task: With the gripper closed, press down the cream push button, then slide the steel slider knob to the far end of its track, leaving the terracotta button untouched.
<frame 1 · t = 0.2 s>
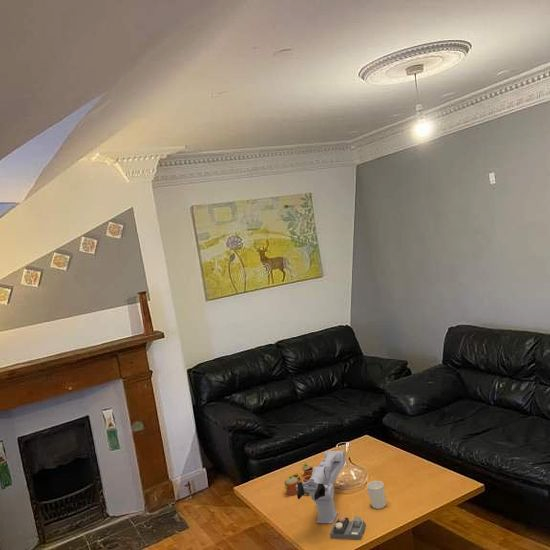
hand: (306, 497, 226), 21 cm above the table, tool horizontal, fingers open, 7 cm apart
white cup: (378, 505, 249), on the table
control panel: (348, 532, 232), on the table
slider knob: (357, 521, 232), point 4 cm above the table, slide at 0.0 cm
cream button: (339, 526, 230), point 4 cm above the table, slide at 0.0 cm
terracotta button: (342, 519, 235), point 4 cm above the table, slide at 0.0 cm
potted succulent plants: (302, 485, 283), on the table
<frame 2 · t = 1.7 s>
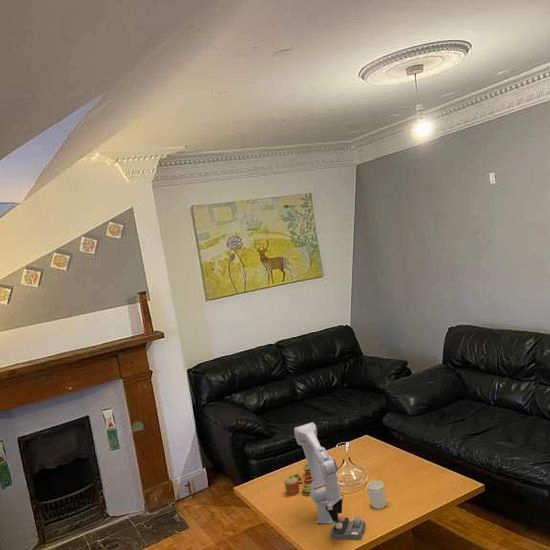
hand: (337, 516, 230), 8 cm above the table, tool pointing down, fingers open, 6 cm apart
nothing on the table moved.
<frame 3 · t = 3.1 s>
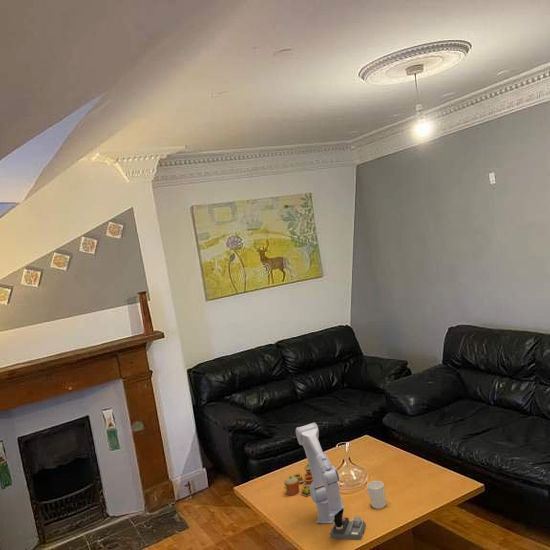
hand: (339, 526, 230), 4 cm above the table, tool pointing down, fingers closed, pressing on cream button
cream button: (339, 528, 230), point 3 cm above the table, slide at 0.9 cm, touching gripper
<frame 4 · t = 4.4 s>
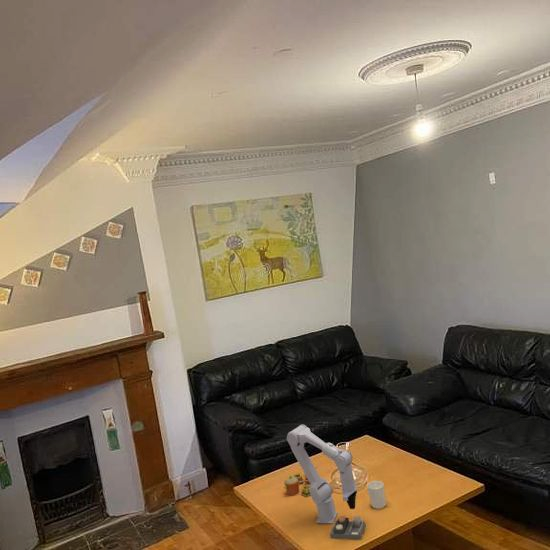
hand: (352, 508, 235), 8 cm above the table, tool pointing down, fingers closed
cream button: (339, 528, 230), point 3 cm above the table, slide at 0.9 cm
everything else where it was.
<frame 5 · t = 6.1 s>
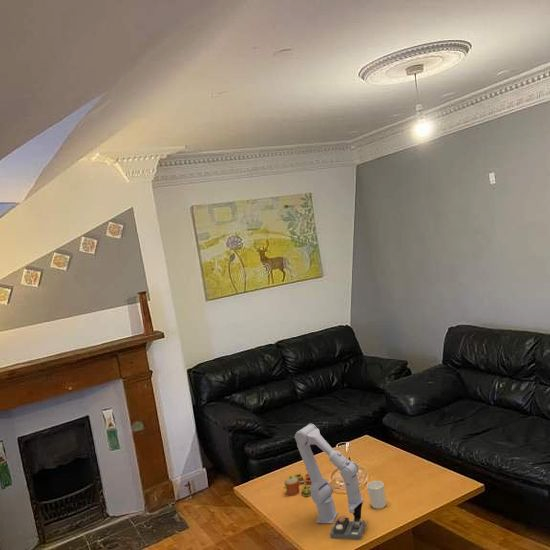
hand: (358, 519, 233), 4 cm above the table, tool pointing down, fingers closed
slider knob: (356, 522, 231), point 4 cm above the table, slide at 1.0 cm, touching gripper
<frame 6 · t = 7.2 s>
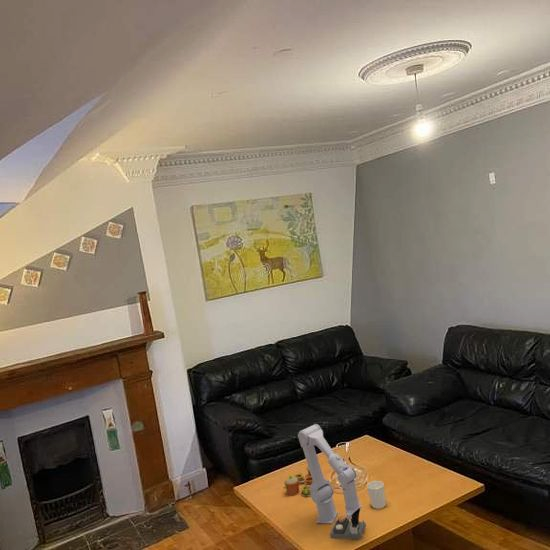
hand: (355, 525, 229), 4 cm above the table, tool pointing down, fingers closed
slider knob: (354, 528, 227), point 4 cm above the table, slide at 5.3 cm, touching gripper
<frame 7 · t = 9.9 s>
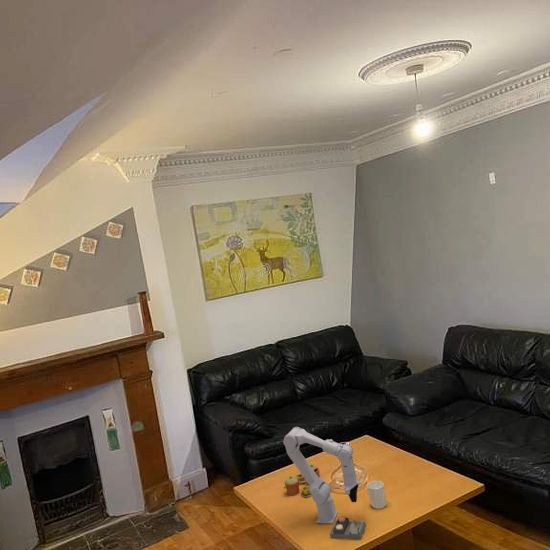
hand: (354, 501, 238), 9 cm above the table, tool pointing down, fingers closed
slider knob: (354, 528, 227), point 4 cm above the table, slide at 5.3 cm
at the end: cream button slide at 0.9 cm; slider knob slide at 5.3 cm; terracotta button slide at 0.0 cm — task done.
